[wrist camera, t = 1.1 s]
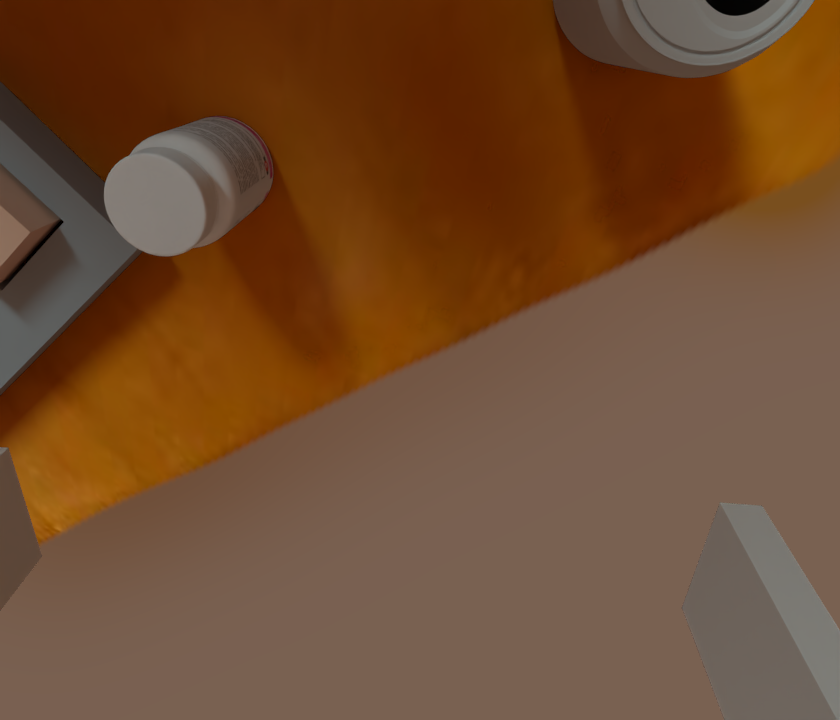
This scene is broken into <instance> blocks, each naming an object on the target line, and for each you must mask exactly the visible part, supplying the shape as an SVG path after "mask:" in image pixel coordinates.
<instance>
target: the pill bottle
mask: <svg viewBox="0 0 840 720" xmlns="http://www.w3.org/2000/svg"><path fill="white" fill-rule="evenodd" d="M272 181H273V164H272V159H271V155H270V153H269V150H268V148H267V146H266V144H265V143H264V141H263V140H262V138H261V137H260V136H259V135H258V134H257V133H256V132H255V131H254V130H253V129H252V128H250V127H249V126H248V125H246V124H244V123H243V122H241V121H239V120H236V119H234V118H230V117H225V116H211V117H207V118H203V119H200V120H197V121H194V122H192V123H189V124H186V125H183V126H180V127H177V128H174V129H171V130H168V131H165V132H161V133H158V134H155V135H153V136H151V137H148V138H147V139H145V140H144V141H142V142H141V143H140V144H138V145H137V146H136V147H135V148H134V149H133V151H132V152H131V153H130V155H129V156H127V157H125V158H123V159H122V160H120V161H119V162H118V163H117V164H116V165H115V166H114V167H113V168H112V169H111V171H110V172H109V174H108V177H107V179H106V182H105V187H104V203H105V207H106V211H107V214H108V216H109V218H110V220H111V222H112V224H113V225H114V227H115V229H116V230H117V231H118V233H119V234H120V235H121V236H122V237H123V238H124V239H125V240H126V241H127V242H128V243H130V244H131V245H133V246H134V247H136V248H137V249H139V250H141V251H143V252H146V253H148V254H152V255H156V256H175V255H179V254H182V253H185V252H187V251H189V250H190V249H192V248H197V247H202V246H206V245H208V244H211V243H213V242H215V241H217V240H218V239H220V238H221V237H222V236H224V235H225V234H226V233H227V232H229V231H230V230H231V229H232V228H233V227H235V226H236V225H237V224H238V223H239V222H240V221H242V220H243V219H244V218H245V217H246V216H248V215H249V214H250V213H251V212H253V211H254V210H255V209H256V208H257V207H258V206H259V205H260V204H261V203H262V202H263V201H264V200H265V198H266V197H267V195H268V193H269V191H270V188H271V185H272Z"/></svg>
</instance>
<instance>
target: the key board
mask: <svg viewBox="0 0 840 720" xmlns="http://www.w3.org/2000/svg"><path fill="white" fill-rule="evenodd" d="M0 163H1V164H2V165H3V166H4V167H5V168H6V169H7V170H8V171H9V172H11V173H12V174H13V175H14V176H15V177H16V178H17V179H18V180H19V181H20V182H21V183H22V184H24V185H25V186H26V187H27V188H28V189H29V190H30V191H31V192H32V193H33V194H34V195H35V196H37V197H38V198H39V199H40V200H41V201H42V202H43V203H44V204H45V205H46V206H47V207H48V208H50V209H51V210H52V211H53V212H54V213H55V214H56V215H57V216H58V217H59V218H60V219H61V220H63V221H64V222H63V223H62V224H61V226H60V227H59V228H58V229H57V230H56V231H55V232H54V233H53V234H52V236H51V237H50V238H49V239H48V240H47V241H46V242H45V243H44V244H43V246H42V247H41V248H40V249H39V250H38V251H37V252H36V253H35V254H34V256H33V257H32V258H31V259H30V260H29V261H28V262H27V263H26V265H25V266H24V267H22V266H21V265H20V266H19V267H18V268H17V270H16V271H15V272H14V273H13V274H12V275H11V276H10V277H9V278H8V279H6V280H5V281H3V282H1V283H0V395H1V394H2V393H3V392H4V391H5V390H6V389H7V388H8V387H9V386H10V385H11V384H12V383H13V382H14V381H15V380H16V379H17V378H18V377H19V376H20V375H21V374H22V373H23V372H24V371H25V370H26V369H27V368H28V367H29V366H30V365H31V364H32V363H33V362H34V361H35V360H36V359H37V358H38V357H39V356H40V355H41V354H42V353H43V352H44V351H45V350H46V349H47V348H48V347H49V346H50V345H51V344H52V343H53V342H54V341H55V340H56V339H57V338H58V337H59V336H60V335H61V334H62V333H63V332H64V331H65V330H66V329H67V328H68V326H69V325H70V324H71V323H72V322H73V321H74V320H75V319H76V318H77V317H78V316H79V315H80V314H81V313H82V312H83V311H84V310H85V309H86V308H87V307H88V306H89V305H90V304H91V303H92V302H93V301H94V300H95V299H96V298H97V297H98V296H99V295H100V294H101V293H102V292H103V291H104V290H105V289H106V288H107V287H108V286H109V285H110V284H111V283H112V282H113V281H114V280H115V279H116V278H117V277H118V276H119V275H120V274H121V273H122V272H123V271H124V270H125V269H126V268H127V267H128V266H129V265H130V264H131V263H132V262H133V261H134V260H135V259H136V258H137V257H138V256H139V255H140V254H141V253H142V252H143V251H141V250H139V249H137V248H136V247H134V246H133V245H131V244H130V243H128V242H127V241H126V240H125V239H124V238H123V237H122V236H121V235H120V234H119V233H118V231H117V230H116V229H115V227H114V225H113V224H112V222H111V220H110V218H109V216H108V214H107V211H106V207H105V203H104V187H105V182H104V181H103V180H101V179H100V178H99V177H98V176H97V175H96V174H95V173H94V172H93V171H92V170H91V169H90V168H89V167H88V166H87V165H86V164H85V163H84V162H83V161H82V160H81V159H80V158H79V157H78V156H77V155H76V154H75V153H74V152H73V151H72V150H71V149H69V148H68V147H67V146H66V145H65V144H64V143H63V142H62V141H61V140H60V139H59V138H58V137H57V136H56V135H55V134H54V133H53V132H52V131H51V130H50V129H49V128H48V127H47V126H46V125H45V124H44V123H43V122H42V121H41V120H40V119H39V118H37V117H36V116H35V115H34V114H33V113H32V112H31V111H30V110H29V109H28V108H27V107H26V106H25V105H24V104H23V103H22V102H21V101H20V100H19V99H18V98H17V97H16V96H15V95H14V94H13V93H12V92H11V91H10V90H9V89H8V88H7V87H5V86H4V85H3V84H2V83H1V82H0Z"/></svg>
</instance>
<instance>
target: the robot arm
mask: <svg viewBox="0 0 840 720" xmlns="http://www.w3.org/2000/svg"><path fill="white" fill-rule="evenodd" d="M41 557H42V555H41V552H40V548H39V545H38V542H37V539H36V535H35V532H34V529H33V526H32V523H31V519H30V516H29V513H28V510H27V506H26V503H25V500H24V497H23V494H22V490H21V487H20V484H19V481H18V477H17V474H16V471H15V468H14V465H13V461H12V458H11V455H10V452H9V448H3V447H0V610H1V609H2V608H3V607H4V605H5V604H6V603H7V601H8V600H9V599H10V597H11V596H12V595H13V594H14V592H15V591H16V590H17V588H18V587H19V586H20V584H21V583H22V582H23V581H24V579H25V578H26V577H27V575H28V574H29V573H30V571H31V570H32V569H33V568H34V566H35V565H36V564H37V562H38V561H39V560H40V558H41ZM682 610H683V612H684V614H685V618H686V620H687V623H688V625H689V628H690V631H691V633H692V636H693V639H694V641H695V644H696V647H697V649H698V652H699V654H700V657H701V660H702V662H703V665H704V668H705V670H706V673H707V676H708V678H709V681H710V683H711V686H712V689H713V691H714V694H715V697H716V699H717V702H718V704H719V707H720V710H721V712H722V715H723V718H724V720H840V630H839V628H838V627H837V625H836V623H835V622H834V620H833V619H832V617H831V616H830V614H829V612H828V611H827V609H826V607H825V606H824V604H823V603H822V601H821V599H820V598H819V596H818V595H817V593H816V592H815V590H814V588H813V587H812V585H811V584H810V582H809V580H808V579H807V577H806V575H805V574H804V572H803V570H802V569H801V567H800V566H799V564H798V562H797V561H796V559H795V558H794V556H793V554H792V553H791V551H790V550H789V548H788V546H787V545H786V543H785V542H784V540H783V538H782V537H781V535H780V534H779V532H778V530H777V529H776V527H775V526H774V524H773V522H772V521H771V519H770V517H769V516H768V514H767V513H766V511H765V510H764V508H763V506H758V505H744V504H733V503H719V506H718V509H717V511H716V514H715V518H714V520H713V523H712V525H711V528H710V531H709V534H708V536H707V539H706V542H705V545H704V548H703V550H702V553H701V556H700V559H699V561H698V564H697V567H696V570H695V573H694V575H693V578H692V581H691V584H690V586H689V589H688V592H687V595H686V597H685V600H684V603H683V606H682Z"/></svg>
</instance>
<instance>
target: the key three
mask: <svg viewBox="0 0 840 720" xmlns="http://www.w3.org/2000/svg"><path fill="white" fill-rule="evenodd" d="M60 220H61V219H60V218H59V217H58V216H57V215H56V214H55V213H54V212H53V211H52V210H51V209H50V208H48V207H47V206H46V205H45V204H44V203H43V202H42V201H41V200H40V199H39V198H38V197H37V196H35V195H34V194H33V193H32V192H31V191H30V190H29V189H28V188H27V187H26V186H25V185H24V184H22V183H21V182H20V181H19V180H18V179H17V178H16V177H15V176H14V175H13V174H12V173H11V172H9V171H8V170H7V169H6V168H5V167H4V166H3V165H2V164H1V163H0V283H1V282H3V281H5V280H6V279H8V278H9V277H10V276H11V275H12V274H13V273H14V272H15V271H16V270H17V268H18V267H19V266H20V265H21V264H22V263H23V262H24V261H25V260H26V258H27V257H28V256H29V255H30V254H31V253H32V252H33V251H34V249H35V248H36V247H37V246H38V245H39V244H40V243H41V242H42V241H43V239H44V238H45V237H46V236H47V235H48V234H49V233H50V232H51V231H52V229H53V228H54V227H55V226H56V225H57V224H58V223H59V222H60Z"/></svg>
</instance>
